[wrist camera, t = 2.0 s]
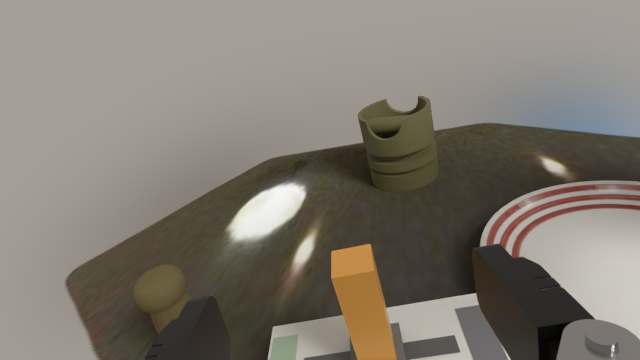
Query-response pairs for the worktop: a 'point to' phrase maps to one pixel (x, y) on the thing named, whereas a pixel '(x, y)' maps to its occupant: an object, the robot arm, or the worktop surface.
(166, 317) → the olive pawn figure
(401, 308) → the box
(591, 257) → the dinner plate
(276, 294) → the worktop surface
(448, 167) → the worktop surface
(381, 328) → the handle
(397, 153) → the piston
